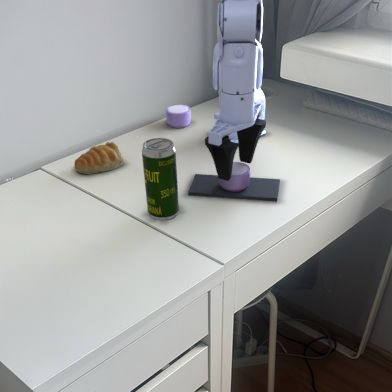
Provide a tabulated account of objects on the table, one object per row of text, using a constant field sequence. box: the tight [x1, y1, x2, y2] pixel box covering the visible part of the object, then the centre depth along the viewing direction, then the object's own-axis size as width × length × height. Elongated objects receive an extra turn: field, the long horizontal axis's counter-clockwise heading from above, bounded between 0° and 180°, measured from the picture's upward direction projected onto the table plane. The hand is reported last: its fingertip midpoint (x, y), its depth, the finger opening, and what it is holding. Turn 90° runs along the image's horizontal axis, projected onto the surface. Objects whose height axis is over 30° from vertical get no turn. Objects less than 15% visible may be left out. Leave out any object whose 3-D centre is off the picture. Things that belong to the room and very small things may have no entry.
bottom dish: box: [165, 104, 192, 129], centre depth 113 cm, size 6×6×3 cm
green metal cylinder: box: [141, 137, 180, 221], centre depth 83 cm, size 5×5×12 cm
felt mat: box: [187, 173, 281, 202], centre depth 92 cm, size 16×7×1 cm, turn 80°
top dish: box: [219, 161, 251, 192], centre depth 91 cm, size 6×6×3 cm
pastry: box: [74, 141, 125, 175], centre depth 99 cm, size 9×7×4 cm
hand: (235, 170), depth 90 cm, fingers open, 7 cm apart
